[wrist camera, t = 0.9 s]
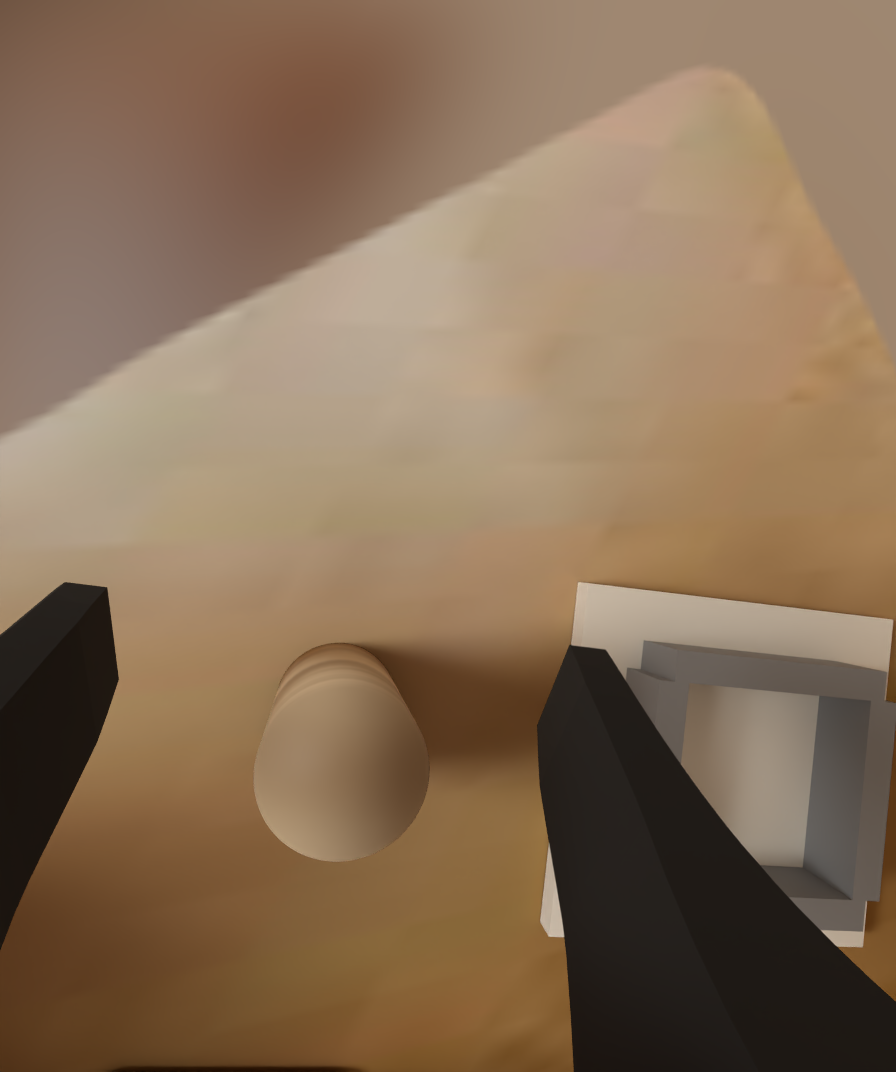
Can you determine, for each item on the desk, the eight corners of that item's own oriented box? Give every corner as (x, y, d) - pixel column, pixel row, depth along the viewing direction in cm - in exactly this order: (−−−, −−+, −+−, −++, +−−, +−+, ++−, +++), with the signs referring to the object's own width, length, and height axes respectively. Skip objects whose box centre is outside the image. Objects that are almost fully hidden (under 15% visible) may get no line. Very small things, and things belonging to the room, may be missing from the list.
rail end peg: (388, 766, 25) (418, 865, 17) (268, 757, 24) (242, 857, 16) (402, 649, 25) (439, 693, 17) (283, 637, 24) (265, 678, 16)
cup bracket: (843, 933, 28) (917, 987, 24) (540, 921, 26) (574, 979, 22) (873, 617, 28) (950, 626, 25) (578, 582, 26) (617, 586, 23)
